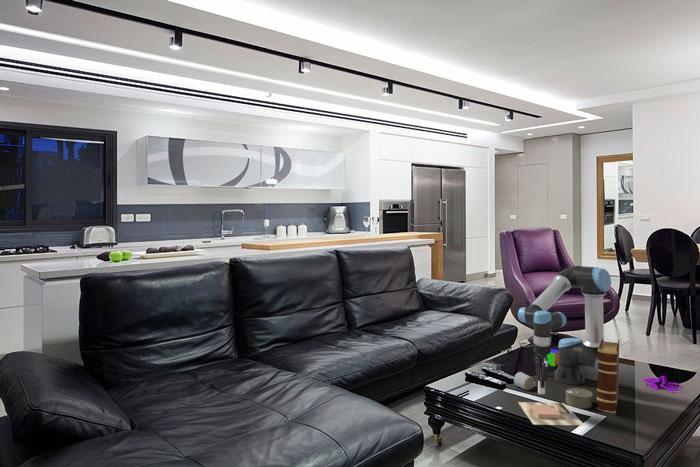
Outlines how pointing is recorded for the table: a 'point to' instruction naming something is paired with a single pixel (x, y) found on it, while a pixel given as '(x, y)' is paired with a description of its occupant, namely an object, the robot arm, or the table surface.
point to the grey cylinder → (524, 381)
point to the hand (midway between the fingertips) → (541, 393)
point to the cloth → (661, 383)
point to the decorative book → (608, 376)
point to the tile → (545, 411)
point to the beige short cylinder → (579, 397)
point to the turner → (568, 414)
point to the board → (549, 421)
